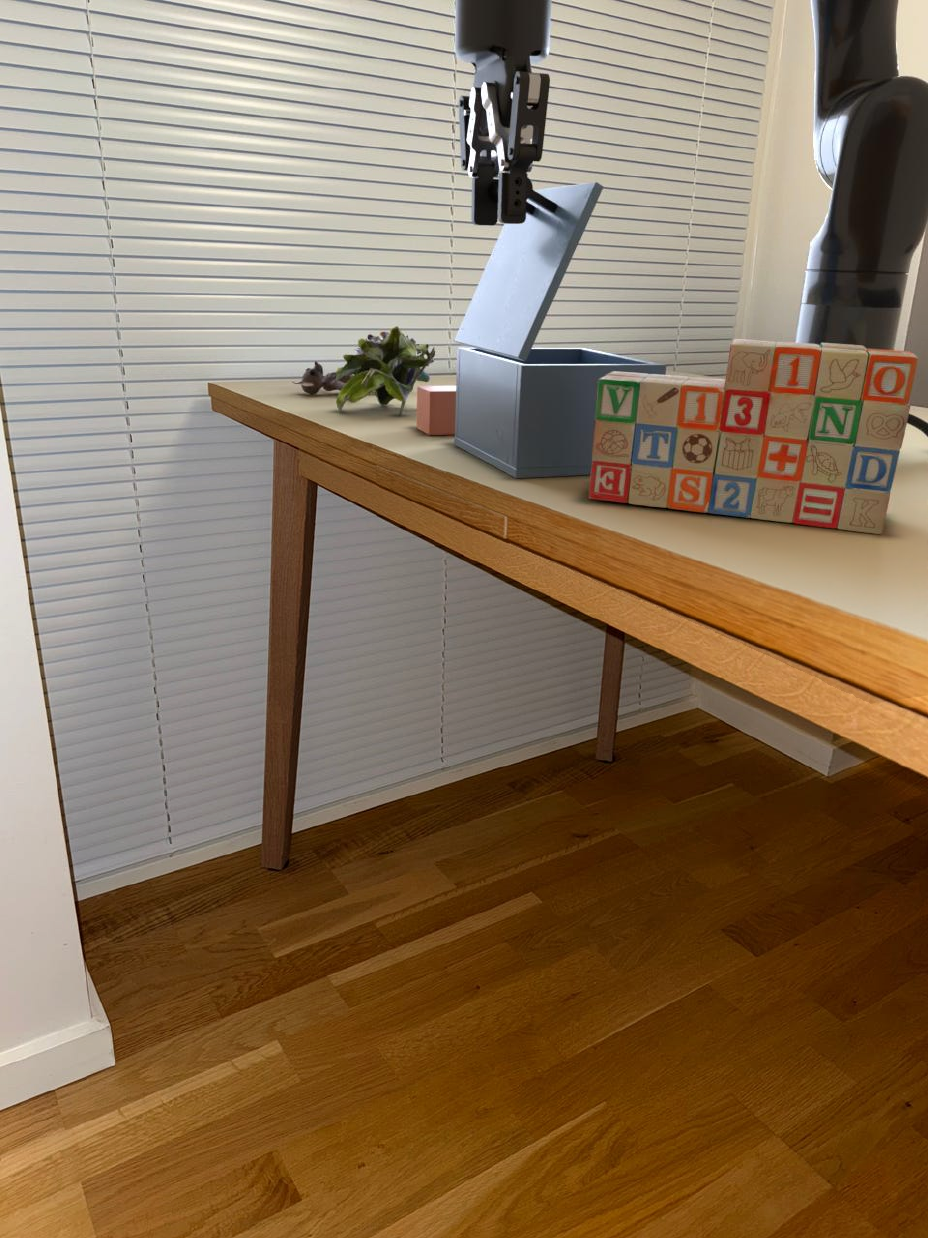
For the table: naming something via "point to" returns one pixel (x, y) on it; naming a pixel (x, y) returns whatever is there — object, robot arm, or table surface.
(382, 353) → the green leafy plant
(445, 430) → the block
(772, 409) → the stack of blocks
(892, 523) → the table surface
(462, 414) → the blue-grey open box
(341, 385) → the grey irregular figure
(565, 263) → the lid
